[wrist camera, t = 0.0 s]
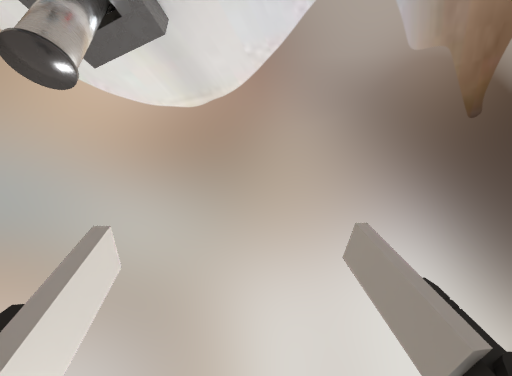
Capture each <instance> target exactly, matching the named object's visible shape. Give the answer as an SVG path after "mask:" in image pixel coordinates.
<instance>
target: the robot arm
mask: <svg viewBox="0 0 512 376" xmlns="http://www.w3.org/2000/svg"><path fill="white" fill-rule="evenodd" d="M343 259H344V261H345V262H346V263H347V265H348V267H349V268H350V270H351V271H352V273H353V274H354V276H355V277H356V278H357V280H358V281H359V283H360V284H361V286H362V287H363V289H364V290H365V292H366V293H367V295H368V296H369V298H370V299H371V301H372V302H373V304H374V305H375V306H376V308H377V310H378V311H379V313H380V314H381V315H382V317H383V319H384V320H385V322H386V323H387V324H388V326H389V327H390V329H391V331H392V332H393V333H394V335H395V336H396V338H397V339H398V341H399V342H400V344H401V345H402V347H403V348H404V350H405V351H406V353H407V354H408V356H409V357H410V359H411V360H412V362H413V363H414V365H415V366H416V368H417V369H418V371H419V372H420V374H421V375H422V376H512V352H506V351H505V350H504V349H503V348H502V347H501V346H500V345H498V344H497V343H496V342H495V341H494V340H493V339H492V338H491V337H490V336H489V335H488V334H487V333H486V332H485V331H484V330H483V329H482V328H481V327H480V326H479V325H478V324H477V323H476V322H475V321H473V320H472V319H471V318H470V317H469V316H468V315H467V314H466V313H465V312H464V311H463V310H462V309H460V308H459V306H458V305H457V304H456V303H455V302H454V301H453V300H450V297H448V296H447V295H446V294H445V293H444V292H443V291H442V290H441V289H440V288H439V287H438V286H437V285H435V284H434V283H432V282H431V281H429V280H428V279H426V278H422V277H421V276H420V275H419V274H418V273H417V272H416V271H415V270H414V269H413V268H412V267H411V266H410V265H409V264H408V263H407V262H406V261H405V260H404V259H403V258H402V257H401V256H400V255H399V254H397V252H396V251H395V250H393V248H392V247H391V246H390V245H389V244H388V243H387V242H386V241H385V240H384V239H383V238H382V237H381V236H380V235H379V234H378V233H376V231H375V230H374V229H373V228H372V227H370V225H368V223H355V226H354V228H353V231H352V234H351V236H350V239H349V242H348V245H347V247H346V250H345V253H344V255H343ZM120 269H121V263H120V259H119V256H118V252H117V248H116V245H115V241H114V237H113V233H112V230H111V226H93V227H92V228H91V229H90V230H89V231H88V233H87V234H86V235H85V236H84V237H83V238H82V239H81V241H80V242H79V243H78V244H77V245H76V246H75V247H74V249H73V250H72V251H71V252H70V253H69V254H68V255H67V257H66V258H65V259H64V260H63V261H62V262H61V263H60V265H59V266H58V267H57V268H56V269H55V270H54V271H53V273H52V274H51V275H50V276H49V277H48V278H47V280H46V281H45V282H44V283H43V284H42V285H41V286H40V288H39V289H38V290H37V291H36V292H35V293H34V295H33V296H32V297H31V298H30V299H29V300H28V301H27V302H26V304H18V305H11V306H10V307H8V308H7V309H6V310H4V311H3V312H2V313H0V376H64V374H65V372H66V370H67V369H68V367H69V365H70V363H71V361H72V359H73V357H74V355H75V354H76V352H77V350H78V348H79V346H80V344H81V342H82V340H83V338H84V337H85V335H86V333H87V331H88V329H89V327H90V325H91V324H92V322H93V320H94V318H95V316H96V314H97V312H98V310H99V308H100V307H101V305H102V303H103V301H104V299H105V297H106V295H107V293H108V291H109V290H110V288H111V286H112V284H113V282H114V280H115V278H116V277H117V275H118V273H119V271H120Z"/></svg>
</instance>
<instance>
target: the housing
mask: <svg viewBox="0 0 512 376" xmlns="http://www.w3.org/2000/svg"><path fill="white" fill-rule="evenodd" d="M19 1H20V2H21V3H23V4H24V5H25V6H26V7H27V8H28V9H30V8H31V6H32V5H33V4H34V3H35V2H36V0H19ZM109 1H110V2H111V3H112V4H113V6H114V7H115V8H116V9H115V10H113V11H112V12H110V13H108V14H106V15H105V16H104V17H103V19H102V21H101V23H100V25H99V27H98V29H97V31H96V33H95V35H94V37H93V39H92V41H91V43H90V45H89V47H88V49H87V51H86V53H85V55H84V57H83V58H84V59H85V60H86V61H87V62H88V63H89V64H90V65H91V66H93V67H94V68H97V67H99V66H101V65H103V64H105V63H107V62H109V61H111V60H113V59H115V58H117V57H119V56H121V55H124V54H126V53H128V52H130V51H132V50H134V49H136V48H138V47H140V46H142V45H144V44H146V43H148V42H150V41H152V40H154V39H156V38H158V37H161V36H163V35H165V33H166V29H167V24H168V20H169V19H168V18H167V16H166V15H165V13H164V11H163V10H162V8H161V7H160V5H159V4H158V2H157V0H109Z"/></svg>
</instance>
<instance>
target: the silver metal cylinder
mask: <svg viewBox="0 0 512 376" xmlns="http://www.w3.org/2000/svg"><path fill="white" fill-rule="evenodd" d="M110 3H111V2H110V1H109V0H36V2H35V3H34V4H33V5H32V6H31V8H30V9H29V10H28V11H27V12H26V14H25V15H24V16H23V17H22V19H21V20H20V21H19V22H18V23H17V25H16V26H15V27H14V28H7V29H4V30H2V31H1V32H0V56H1V57H2V58H3V59H4V60H5V62H6V63H7V64H8V65H9V66H11V67H12V68H13V69H14V70H15V71H17V72H18V73H20V74H21V75H22V76H24V77H26V78H27V79H29V80H31V81H33V82H35V83H37V84H40V85H42V86H45V87H48V88H52V89H58V90H66V89H70V88H72V87H74V86H75V85H76V83H77V81H78V78H79V73H78V67H79V65H80V63H81V61H82V59H83V57H84V55H85V53H86V51H87V49H88V47H89V45H90V43H91V41H92V39H93V37H94V35H95V33H96V31H97V29H98V27H99V25H100V23H101V21H102V19H103V17H104V15H105V13H106V11H107V9H108V7H109V5H110Z"/></svg>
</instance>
